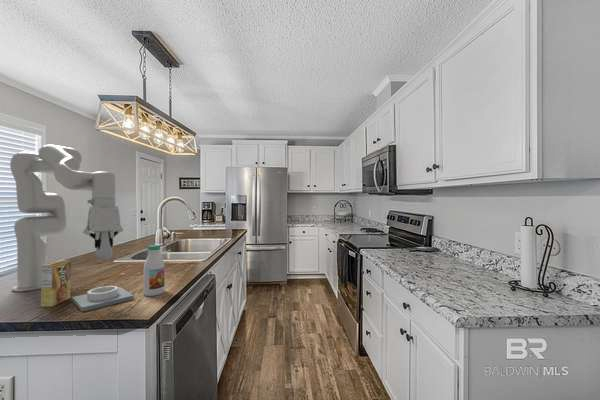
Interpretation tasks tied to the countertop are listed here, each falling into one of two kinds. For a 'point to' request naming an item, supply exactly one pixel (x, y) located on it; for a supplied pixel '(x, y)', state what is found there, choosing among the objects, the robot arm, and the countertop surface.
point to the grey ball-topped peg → (104, 247)
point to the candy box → (55, 282)
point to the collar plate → (101, 303)
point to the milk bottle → (153, 272)
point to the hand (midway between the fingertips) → (103, 248)
